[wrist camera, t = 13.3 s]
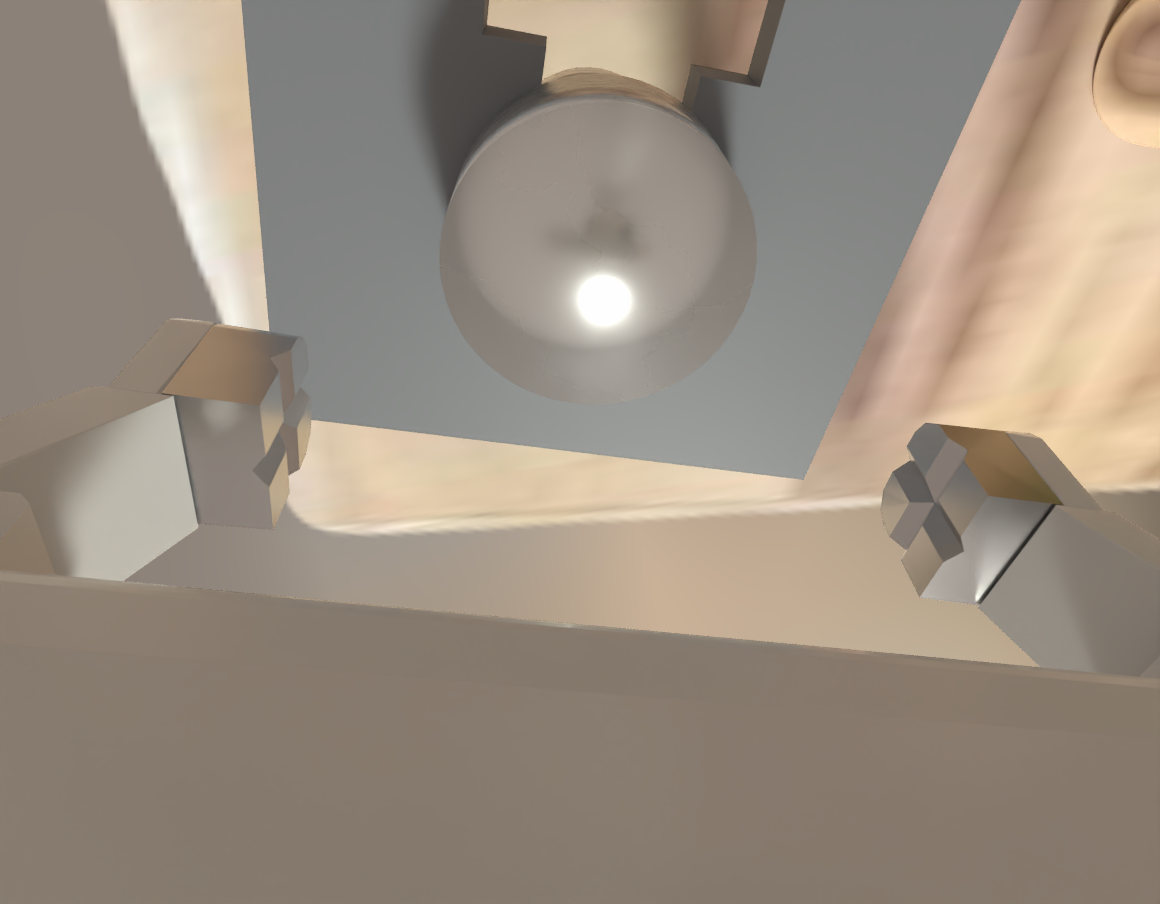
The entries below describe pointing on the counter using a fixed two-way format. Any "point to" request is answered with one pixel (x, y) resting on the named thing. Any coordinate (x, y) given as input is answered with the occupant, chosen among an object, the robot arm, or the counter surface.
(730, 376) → the keyhole stand
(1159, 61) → the beer glass
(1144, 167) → the counter surface
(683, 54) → the counter surface
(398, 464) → the counter surface
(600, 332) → the steel peg
